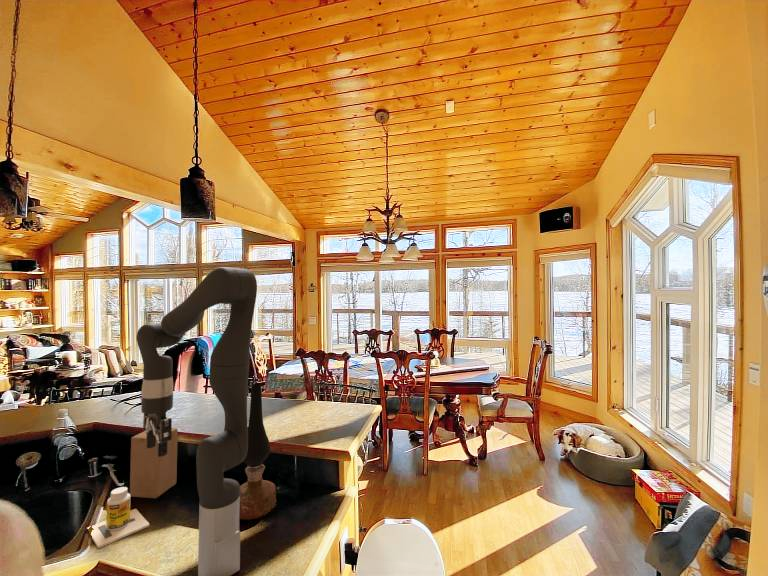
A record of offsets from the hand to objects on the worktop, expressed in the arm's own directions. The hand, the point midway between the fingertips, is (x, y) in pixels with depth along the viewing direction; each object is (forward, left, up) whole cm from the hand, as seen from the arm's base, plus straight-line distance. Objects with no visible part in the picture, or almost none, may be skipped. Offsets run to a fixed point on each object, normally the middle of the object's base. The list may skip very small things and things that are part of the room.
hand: (156, 451), depth 99 cm
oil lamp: (-8, -26, -24) cm, 36 cm away
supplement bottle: (+13, +5, -24) cm, 27 cm away
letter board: (+13, +5, -24) cm, 28 cm away
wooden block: (+28, -9, -24) cm, 38 cm away
